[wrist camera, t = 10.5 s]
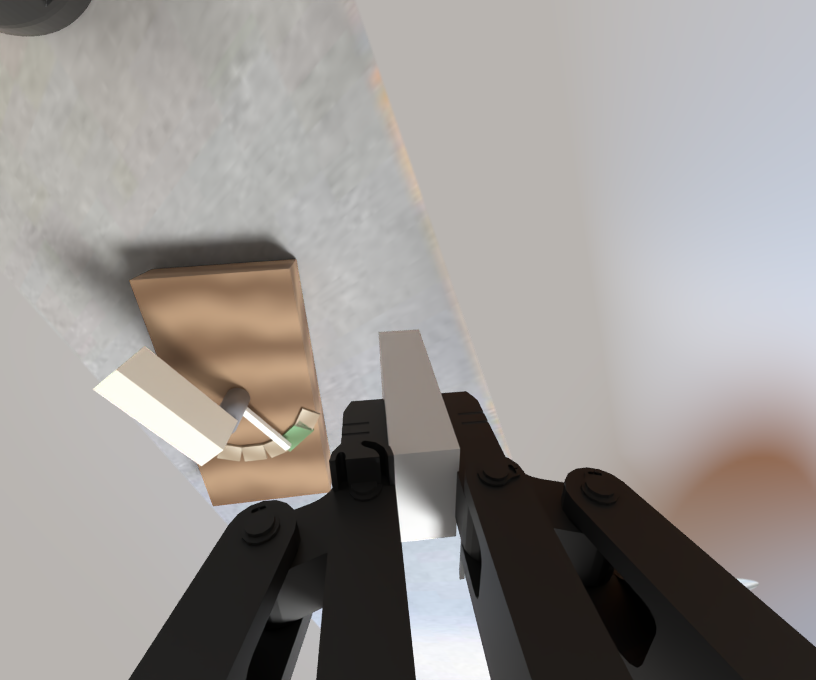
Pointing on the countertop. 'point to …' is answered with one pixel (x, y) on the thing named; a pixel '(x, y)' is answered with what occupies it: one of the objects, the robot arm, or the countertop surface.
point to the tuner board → (245, 369)
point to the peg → (179, 407)
